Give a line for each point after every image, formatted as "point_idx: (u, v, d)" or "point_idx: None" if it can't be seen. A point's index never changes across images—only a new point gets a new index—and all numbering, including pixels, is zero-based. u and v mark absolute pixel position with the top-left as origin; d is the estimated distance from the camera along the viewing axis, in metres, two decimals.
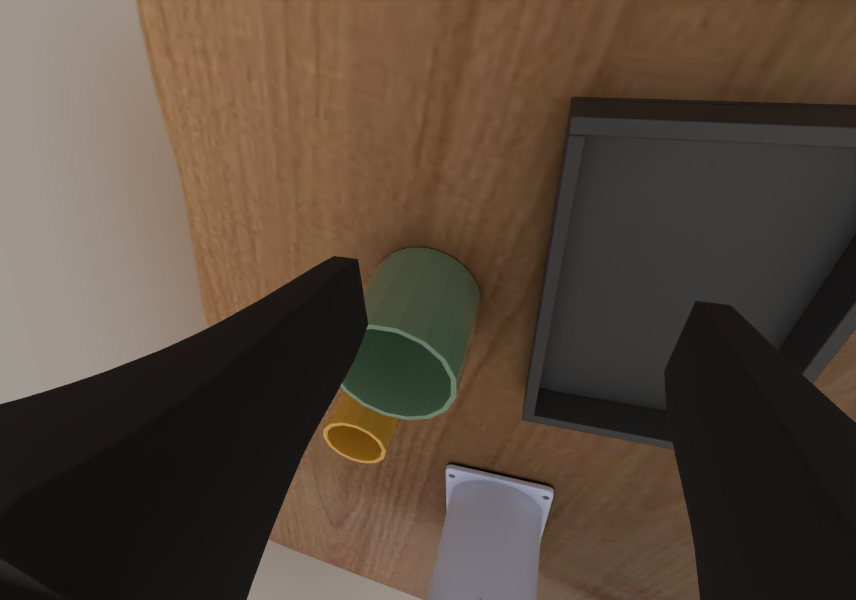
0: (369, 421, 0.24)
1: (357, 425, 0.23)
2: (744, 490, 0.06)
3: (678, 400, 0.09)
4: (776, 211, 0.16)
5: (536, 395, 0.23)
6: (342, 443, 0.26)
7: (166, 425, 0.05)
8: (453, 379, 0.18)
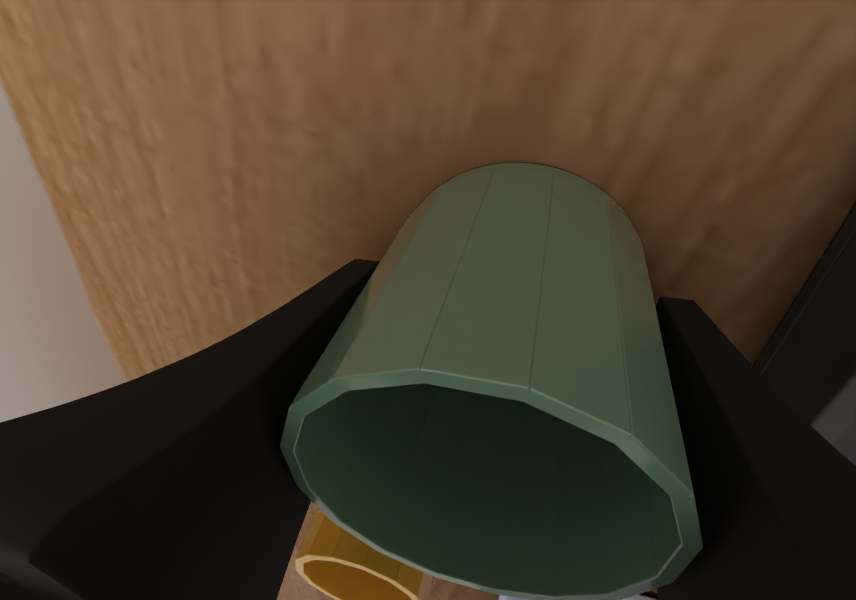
0: None
1: (366, 564, 0.11)
2: (695, 480, 0.06)
3: None
4: None
5: None
6: (335, 573, 0.13)
7: (203, 434, 0.05)
8: (692, 546, 0.05)
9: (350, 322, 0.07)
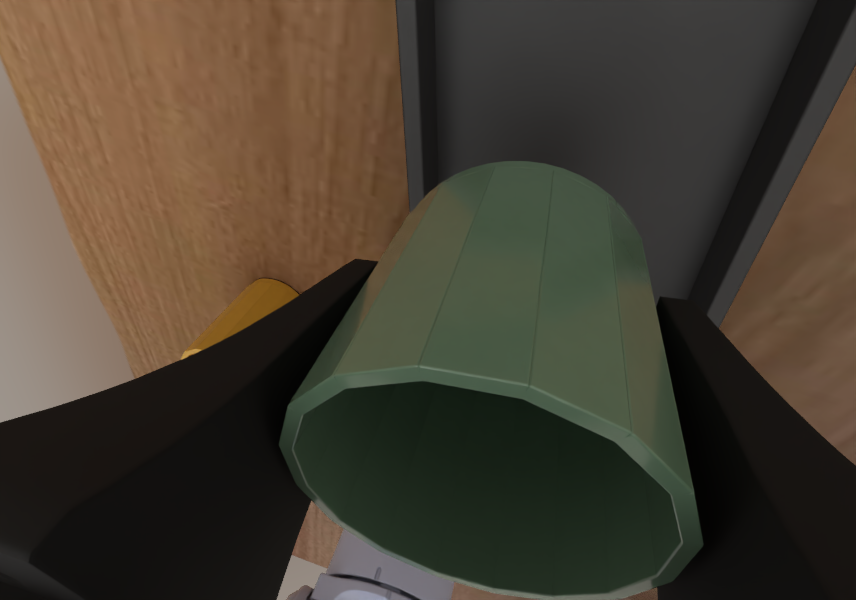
0: None
1: None
2: (695, 480, 0.06)
3: None
4: (691, 19, 0.12)
5: None
6: None
7: (203, 434, 0.05)
8: (693, 545, 0.05)
9: (349, 320, 0.07)
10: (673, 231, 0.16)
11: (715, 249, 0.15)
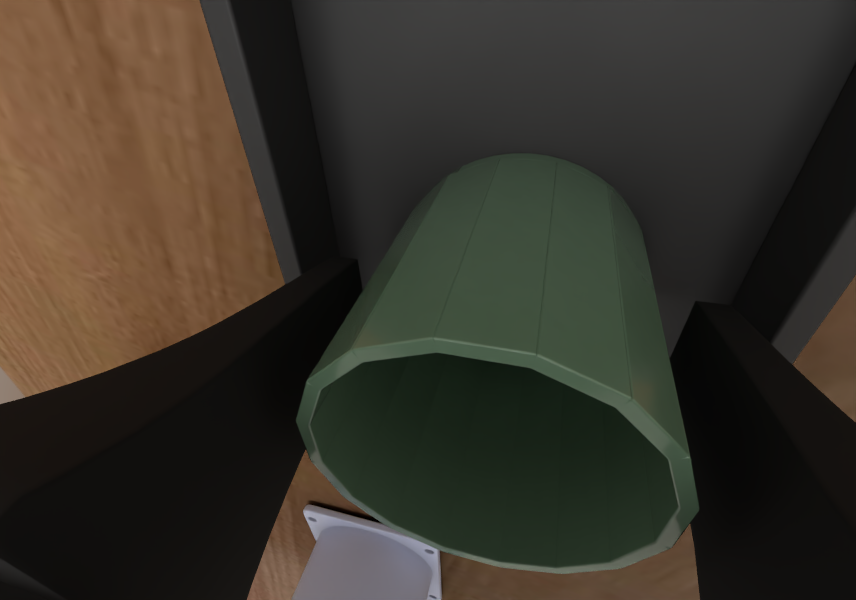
0: None
1: None
2: (744, 490, 0.06)
3: None
4: (665, 77, 0.08)
5: None
6: None
7: (166, 425, 0.05)
8: (689, 509, 0.06)
9: (363, 302, 0.07)
10: None
11: None
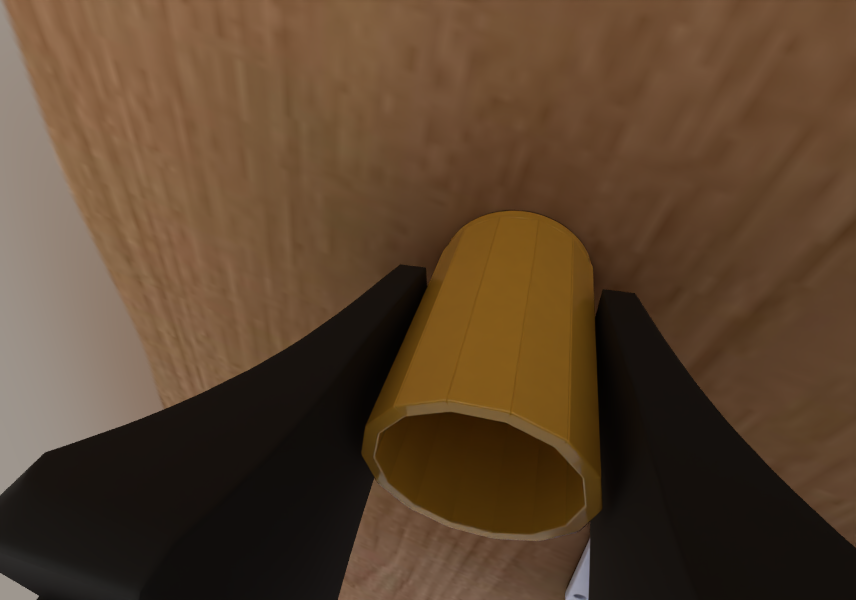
0: (551, 396, 0.06)
1: (515, 409, 0.06)
2: (616, 464, 0.07)
3: None
4: None
5: None
6: (417, 472, 0.08)
7: (282, 453, 0.05)
8: None
9: None
10: None
11: None
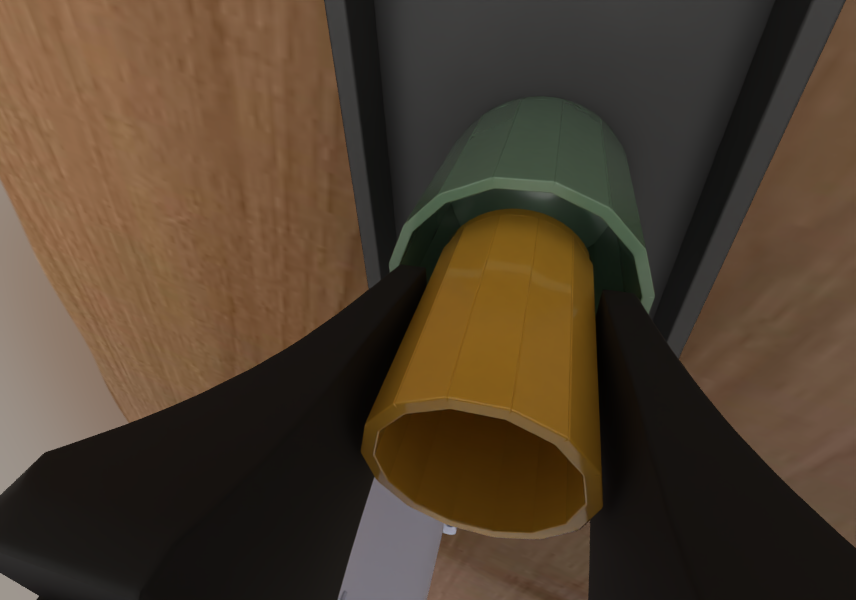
0: (551, 393, 0.06)
1: (516, 406, 0.06)
2: (616, 463, 0.07)
3: None
4: (639, 35, 0.11)
5: None
6: (417, 471, 0.08)
7: (282, 453, 0.05)
8: (648, 297, 0.09)
9: (434, 184, 0.10)
10: None
11: (676, 271, 0.14)
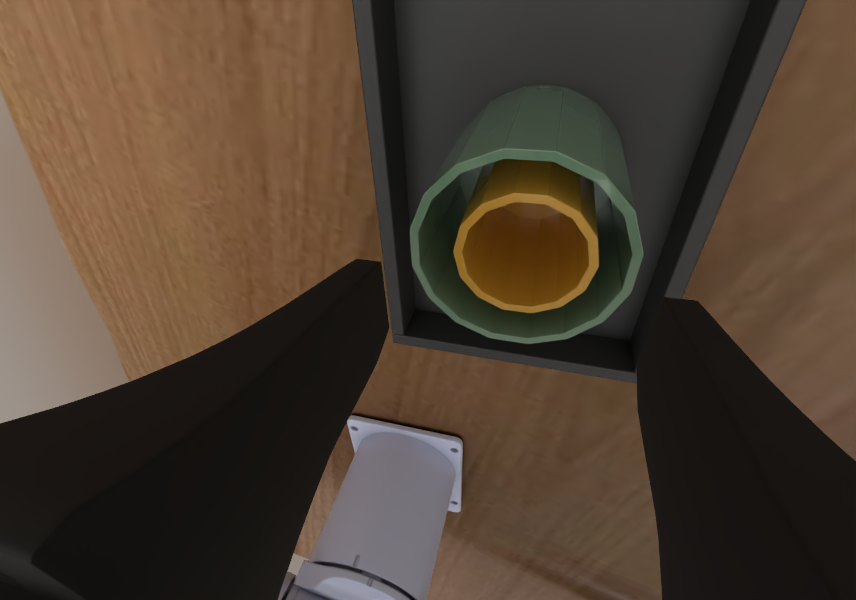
0: (569, 195, 0.11)
1: (551, 195, 0.10)
2: (700, 481, 0.06)
3: (647, 395, 0.09)
4: (633, 27, 0.13)
5: (399, 307, 0.19)
6: (482, 277, 0.13)
7: (205, 435, 0.05)
8: (638, 254, 0.10)
9: (449, 159, 0.12)
10: None
11: (668, 244, 0.16)
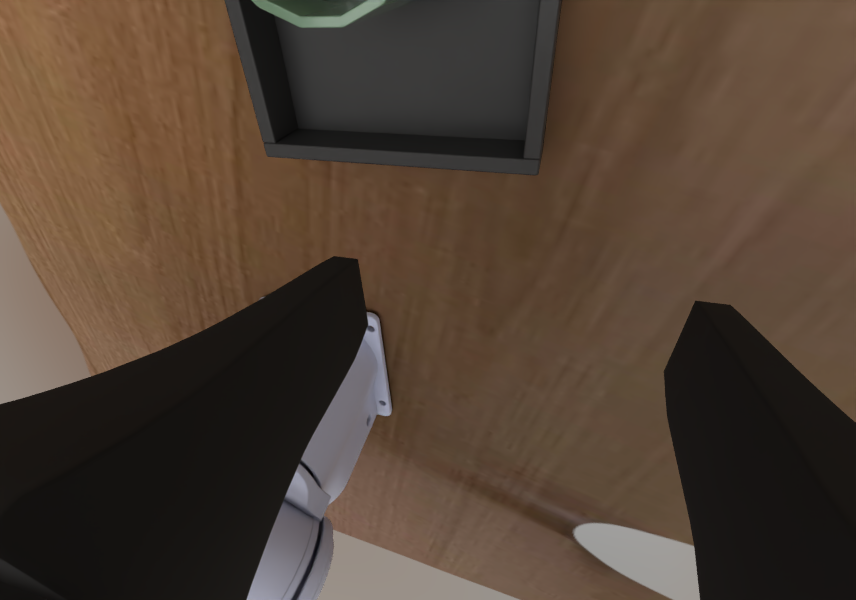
0: None
1: None
2: (744, 490, 0.06)
3: (679, 400, 0.09)
4: None
5: (262, 99, 0.17)
6: None
7: (166, 425, 0.05)
8: None
9: None
10: None
11: None
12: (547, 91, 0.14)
